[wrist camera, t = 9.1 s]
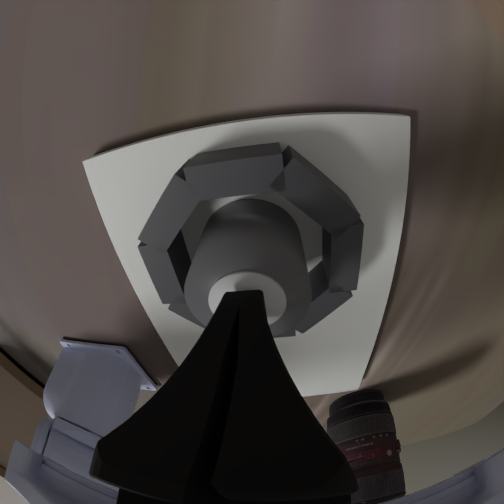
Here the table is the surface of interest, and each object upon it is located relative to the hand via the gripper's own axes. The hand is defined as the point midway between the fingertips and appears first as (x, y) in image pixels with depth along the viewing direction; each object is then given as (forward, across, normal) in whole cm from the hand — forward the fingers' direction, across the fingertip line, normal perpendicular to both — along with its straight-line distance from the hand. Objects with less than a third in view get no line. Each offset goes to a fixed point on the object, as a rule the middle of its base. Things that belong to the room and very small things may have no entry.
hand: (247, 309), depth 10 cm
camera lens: (+6, -9, +24) cm, 26 cm away
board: (+6, 0, +6) cm, 8 cm away
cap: (+5, 0, 0) cm, 5 cm away
